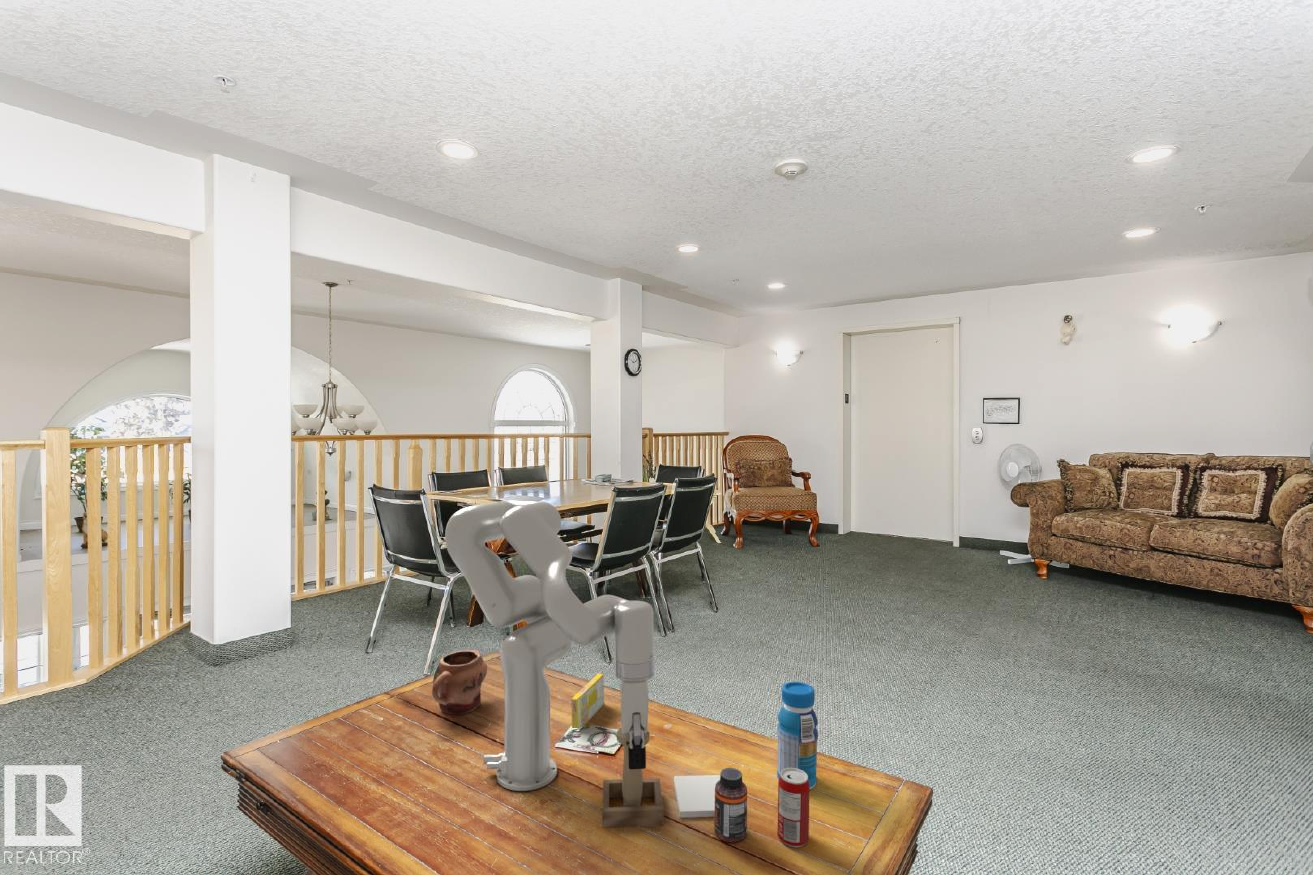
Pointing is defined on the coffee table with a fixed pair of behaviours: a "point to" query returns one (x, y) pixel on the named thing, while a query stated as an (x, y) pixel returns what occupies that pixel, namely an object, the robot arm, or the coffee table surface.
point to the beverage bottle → (798, 730)
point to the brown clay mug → (459, 681)
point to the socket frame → (632, 814)
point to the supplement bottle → (730, 806)
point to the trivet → (696, 795)
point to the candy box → (587, 701)
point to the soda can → (793, 807)
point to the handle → (631, 773)
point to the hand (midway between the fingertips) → (636, 754)
